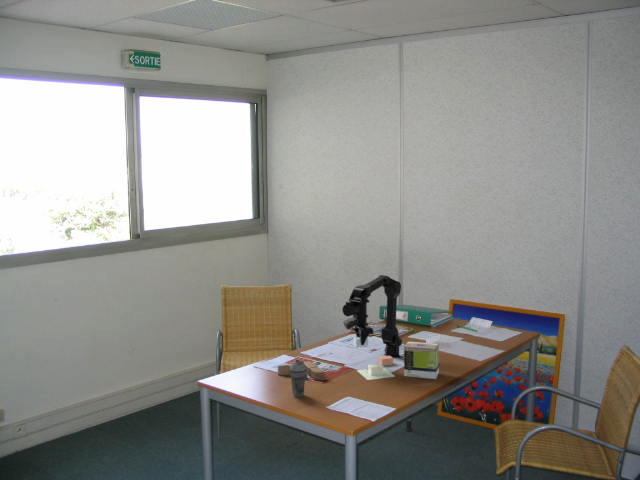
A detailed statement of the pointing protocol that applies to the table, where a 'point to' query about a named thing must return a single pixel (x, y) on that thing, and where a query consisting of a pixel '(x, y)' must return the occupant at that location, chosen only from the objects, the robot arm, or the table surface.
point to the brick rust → (386, 360)
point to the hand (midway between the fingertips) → (360, 343)
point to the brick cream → (375, 369)
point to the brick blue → (358, 342)
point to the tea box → (421, 360)
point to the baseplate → (370, 377)
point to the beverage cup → (298, 377)
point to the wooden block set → (310, 370)
